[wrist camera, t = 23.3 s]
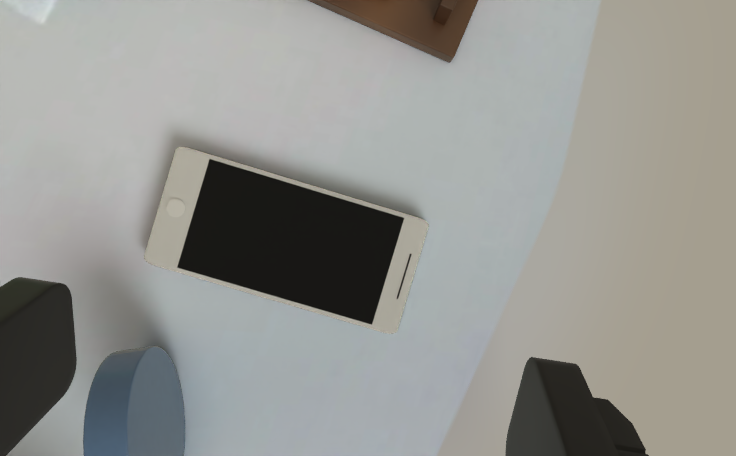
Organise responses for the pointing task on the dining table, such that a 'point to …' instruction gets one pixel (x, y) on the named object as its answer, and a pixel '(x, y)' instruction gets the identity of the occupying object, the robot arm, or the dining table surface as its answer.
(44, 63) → the dining table surface
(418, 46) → the rack
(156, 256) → the smartphone
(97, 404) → the disc
